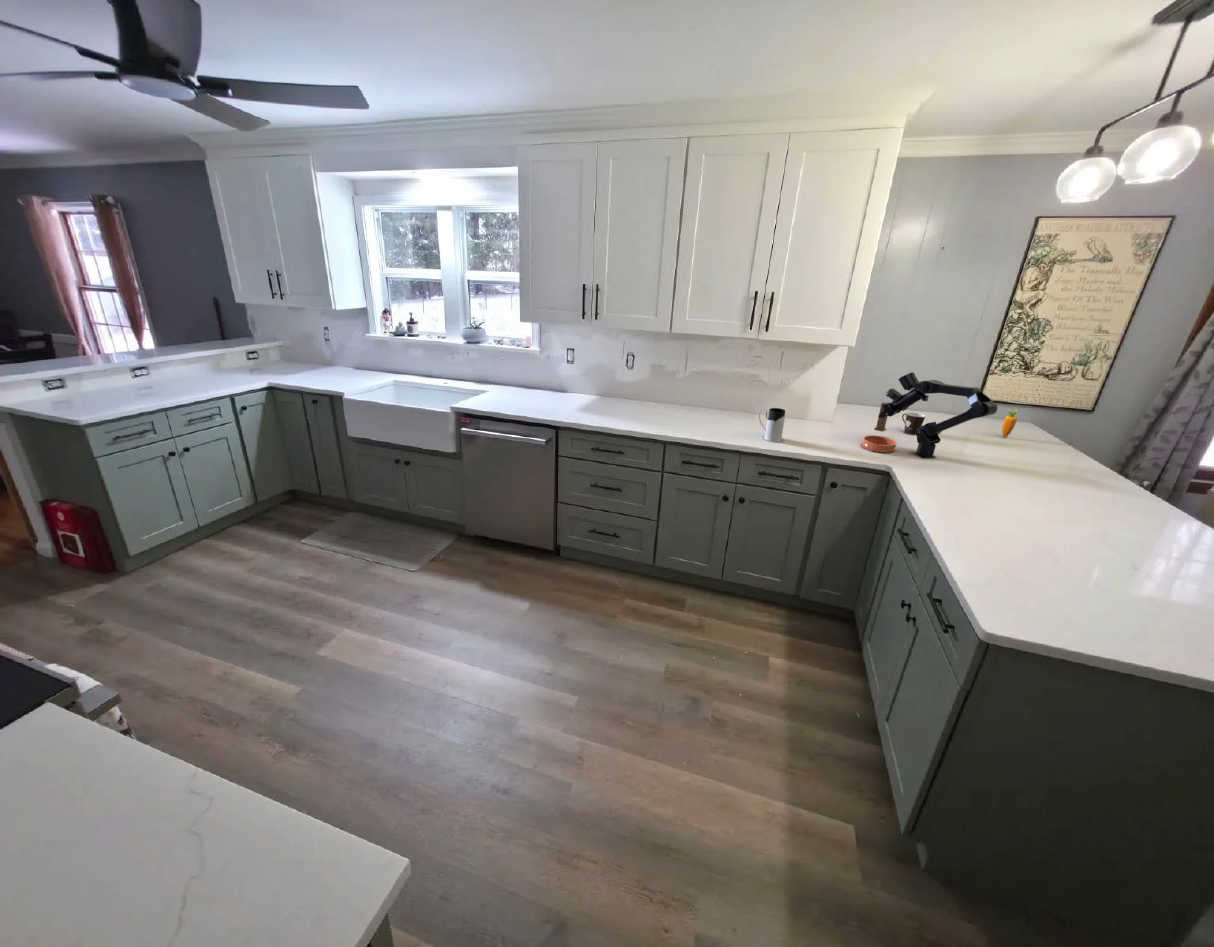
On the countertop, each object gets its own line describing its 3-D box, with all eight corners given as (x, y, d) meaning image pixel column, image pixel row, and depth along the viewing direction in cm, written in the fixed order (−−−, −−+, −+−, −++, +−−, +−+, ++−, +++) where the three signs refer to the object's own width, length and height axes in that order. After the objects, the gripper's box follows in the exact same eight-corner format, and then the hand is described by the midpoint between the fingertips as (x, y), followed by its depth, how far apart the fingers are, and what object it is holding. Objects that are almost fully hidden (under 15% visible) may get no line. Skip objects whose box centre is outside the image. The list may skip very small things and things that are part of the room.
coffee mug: (923, 436, 254) (928, 417, 251) (904, 435, 256) (909, 416, 252) (915, 429, 265) (919, 411, 261) (897, 428, 267) (902, 410, 263)
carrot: (999, 438, 253) (1009, 409, 247) (997, 435, 257) (1007, 407, 251) (1011, 439, 251) (1021, 411, 245) (1009, 437, 255) (1019, 408, 249)
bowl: (901, 452, 232) (903, 444, 231) (873, 454, 230) (875, 446, 229) (881, 442, 245) (883, 434, 243) (855, 443, 243) (857, 436, 241)
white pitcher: (775, 443, 242) (780, 413, 236) (751, 435, 252) (755, 407, 246) (785, 439, 247) (790, 410, 241) (761, 432, 257) (765, 404, 251)
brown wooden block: (885, 430, 243) (892, 403, 238) (882, 431, 241) (888, 404, 236) (877, 428, 246) (883, 401, 241) (874, 429, 244) (880, 403, 238)
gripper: (907, 381, 237) (878, 399, 249) (891, 387, 226) (862, 405, 238) (921, 400, 235) (891, 417, 247) (906, 407, 224) (875, 425, 235)
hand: (880, 416), depth 242 cm, fingers closed on brown wooden block, 3 cm apart
